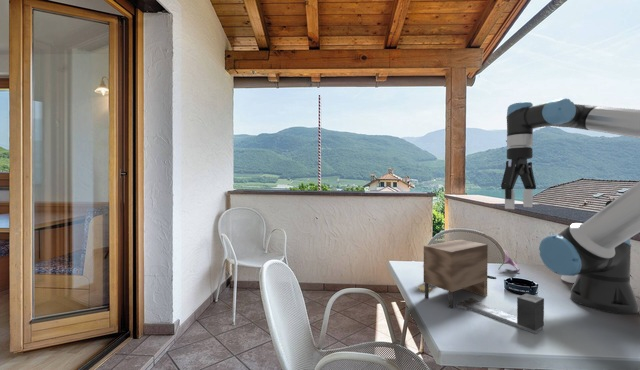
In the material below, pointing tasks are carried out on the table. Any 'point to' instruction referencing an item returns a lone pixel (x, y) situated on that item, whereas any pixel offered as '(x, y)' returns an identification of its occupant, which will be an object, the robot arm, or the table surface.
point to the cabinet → (456, 267)
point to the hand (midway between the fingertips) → (519, 208)
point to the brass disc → (423, 288)
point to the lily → (509, 261)
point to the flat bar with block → (527, 312)
